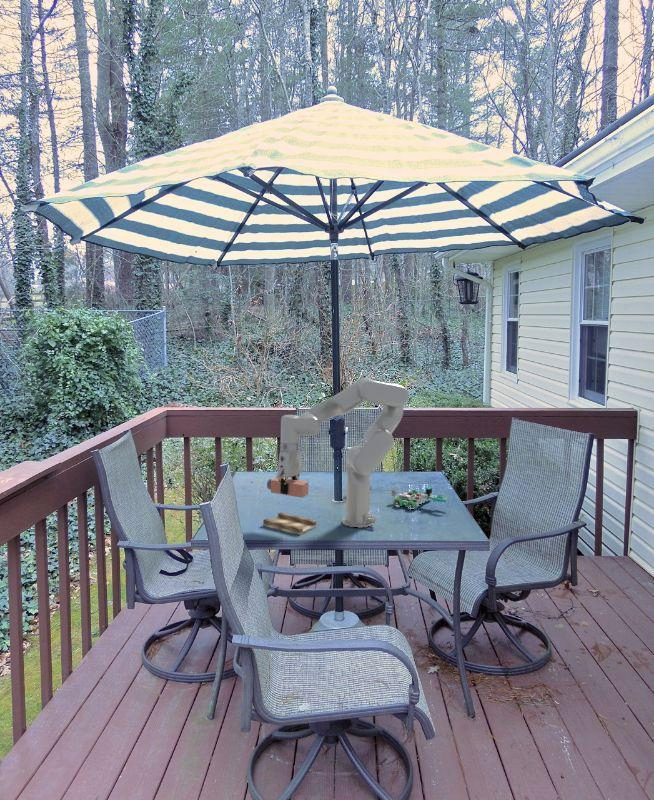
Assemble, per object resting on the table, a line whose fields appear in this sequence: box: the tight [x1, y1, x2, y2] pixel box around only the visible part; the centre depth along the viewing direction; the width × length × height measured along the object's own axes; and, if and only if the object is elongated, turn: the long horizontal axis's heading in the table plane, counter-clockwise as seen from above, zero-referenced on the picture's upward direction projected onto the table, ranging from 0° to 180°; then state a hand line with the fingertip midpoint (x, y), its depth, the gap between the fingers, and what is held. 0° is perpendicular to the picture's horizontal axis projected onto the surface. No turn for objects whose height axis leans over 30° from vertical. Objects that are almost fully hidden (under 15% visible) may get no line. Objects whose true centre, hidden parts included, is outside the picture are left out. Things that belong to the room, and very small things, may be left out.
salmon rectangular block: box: [266, 477, 309, 499], centre depth 235 cm, size 16×5×5 cm, turn 66°
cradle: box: [262, 512, 317, 536], centre depth 237 cm, size 18×11×2 cm, turn 57°
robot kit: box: [390, 486, 450, 509], centre depth 265 cm, size 19×25×9 cm
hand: (288, 491), depth 235 cm, fingers closed on salmon rectangular block, 5 cm apart
